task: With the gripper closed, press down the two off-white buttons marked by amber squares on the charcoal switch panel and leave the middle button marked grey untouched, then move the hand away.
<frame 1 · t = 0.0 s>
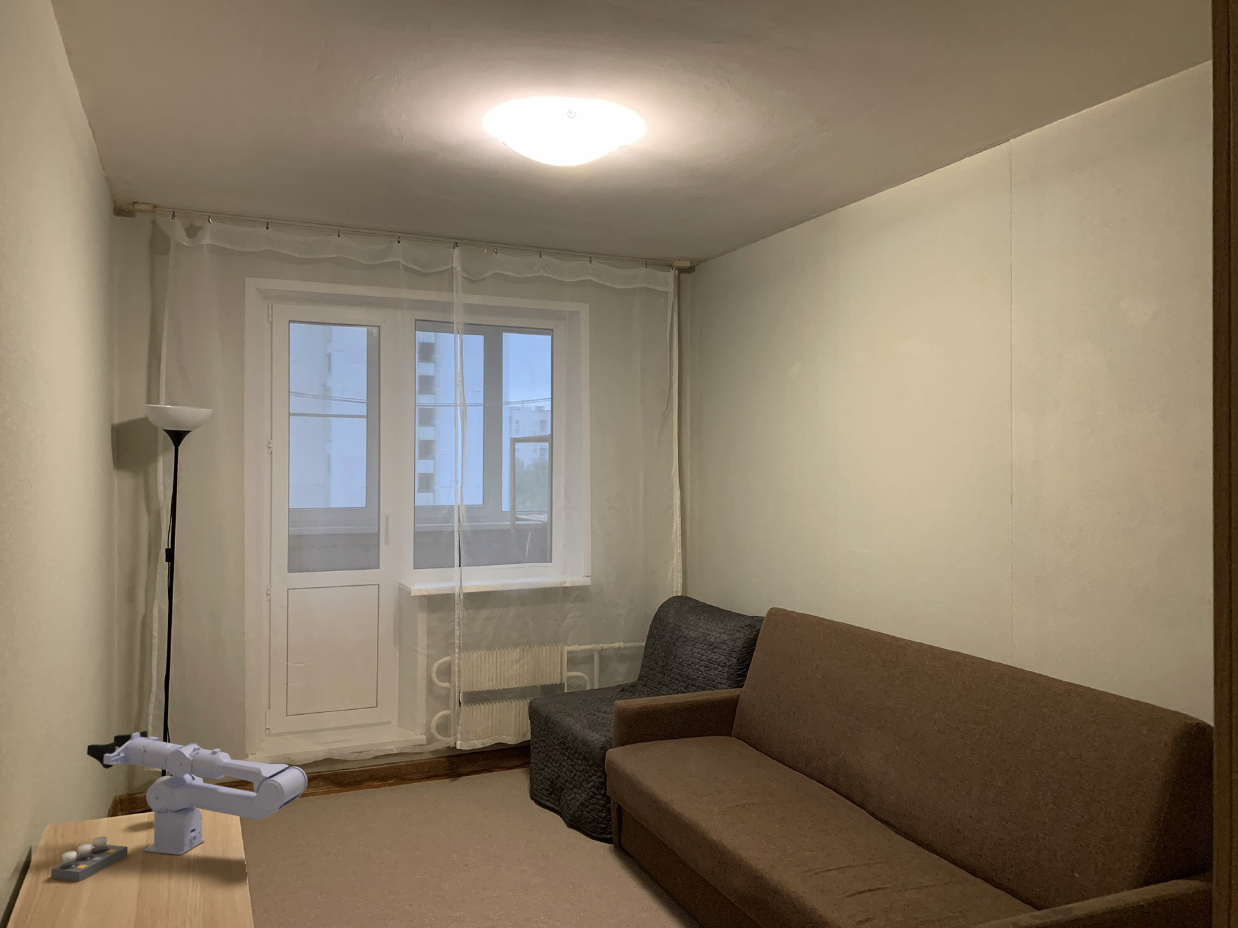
hand: (101, 744, 204), 22 cm above the table, tool horizontal, fingers open, 7 cm apart
button right: (99, 841, 193), point 4 cm above the table, slide at 0.0 cm
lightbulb: (164, 823, 214), on the table
switch panel: (90, 866, 189), on the table
button middle: (84, 849, 189), point 4 cm above the table, slide at 0.0 cm
button left: (69, 856, 185), point 4 cm above the table, slide at 0.0 cm
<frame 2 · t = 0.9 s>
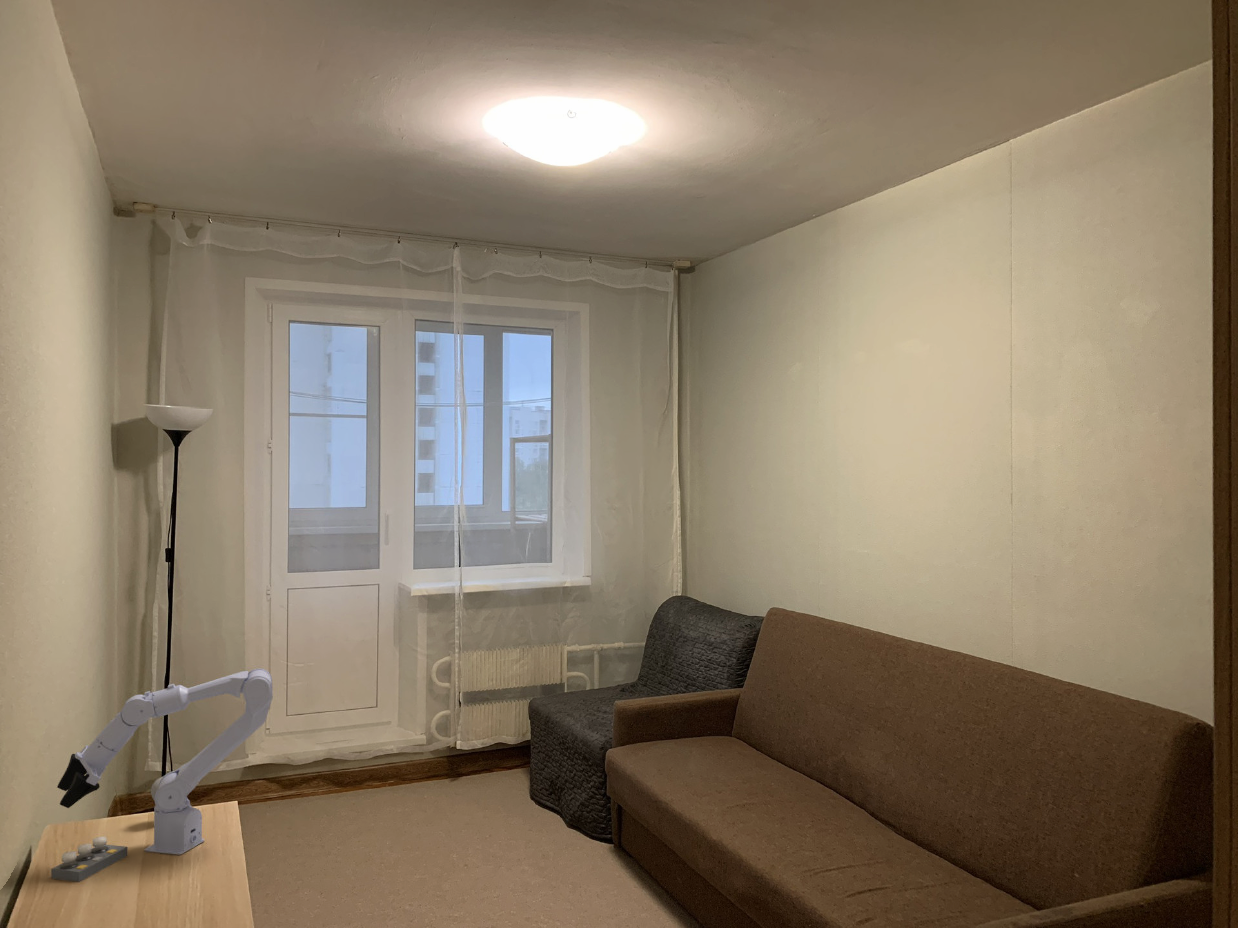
hand: (62, 797, 192), 14 cm above the table, tool tilted 40°, fingers open, 7 cm apart
nothing on the table moved.
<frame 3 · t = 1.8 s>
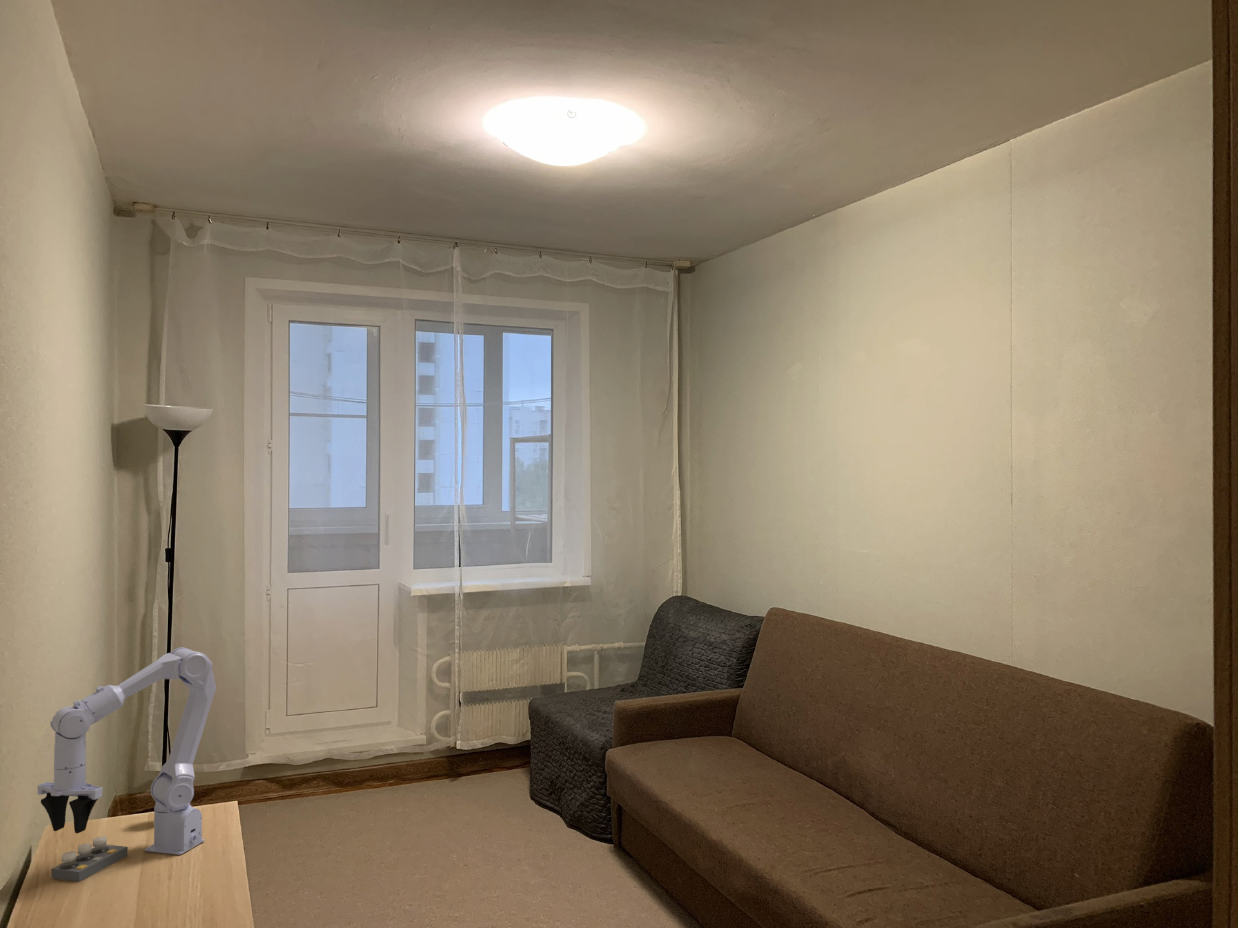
hand: (69, 830, 185), 9 cm above the table, tool pointing down, fingers open, 5 cm apart
nothing on the table moved.
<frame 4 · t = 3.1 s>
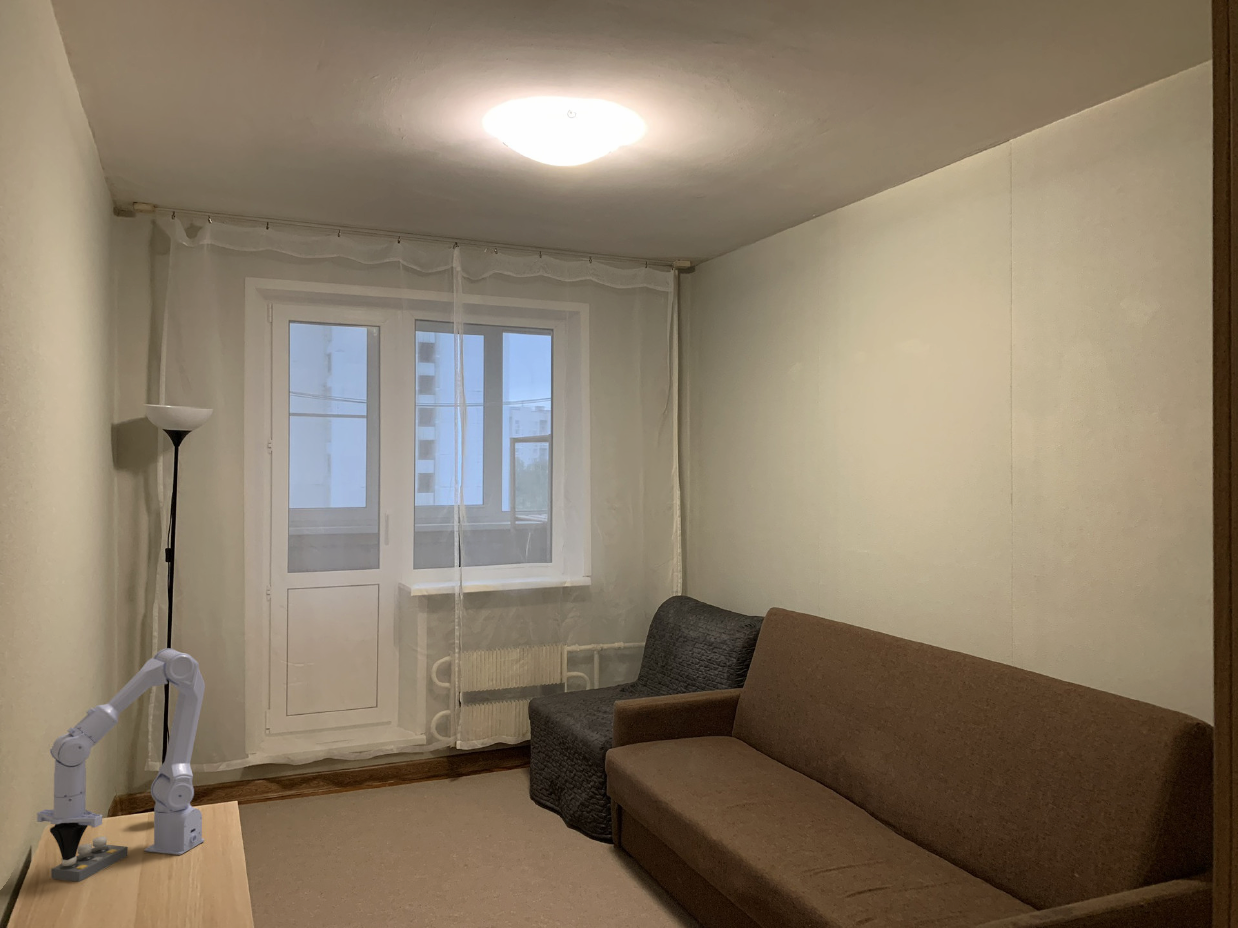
hand: (69, 858, 185), 4 cm above the table, tool pointing down, fingers closed, pressing on button left
button left: (69, 860, 185), point 3 cm above the table, slide at 0.8 cm, touching gripper
everything else where it was.
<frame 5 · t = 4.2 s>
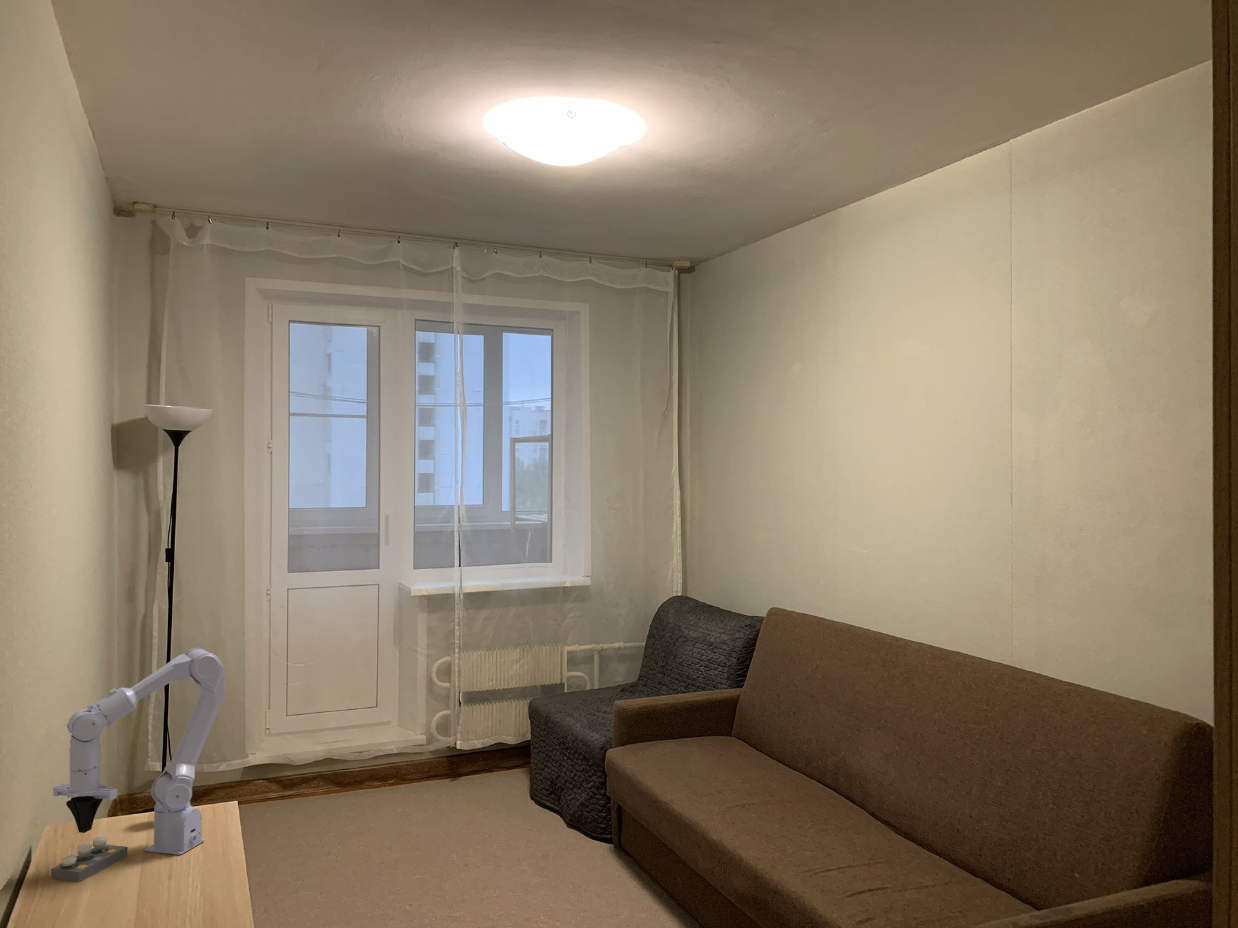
hand: (85, 830, 189), 8 cm above the table, tool pointing down, fingers closed
button left: (69, 860, 185), point 3 cm above the table, slide at 0.8 cm
everything else where it was.
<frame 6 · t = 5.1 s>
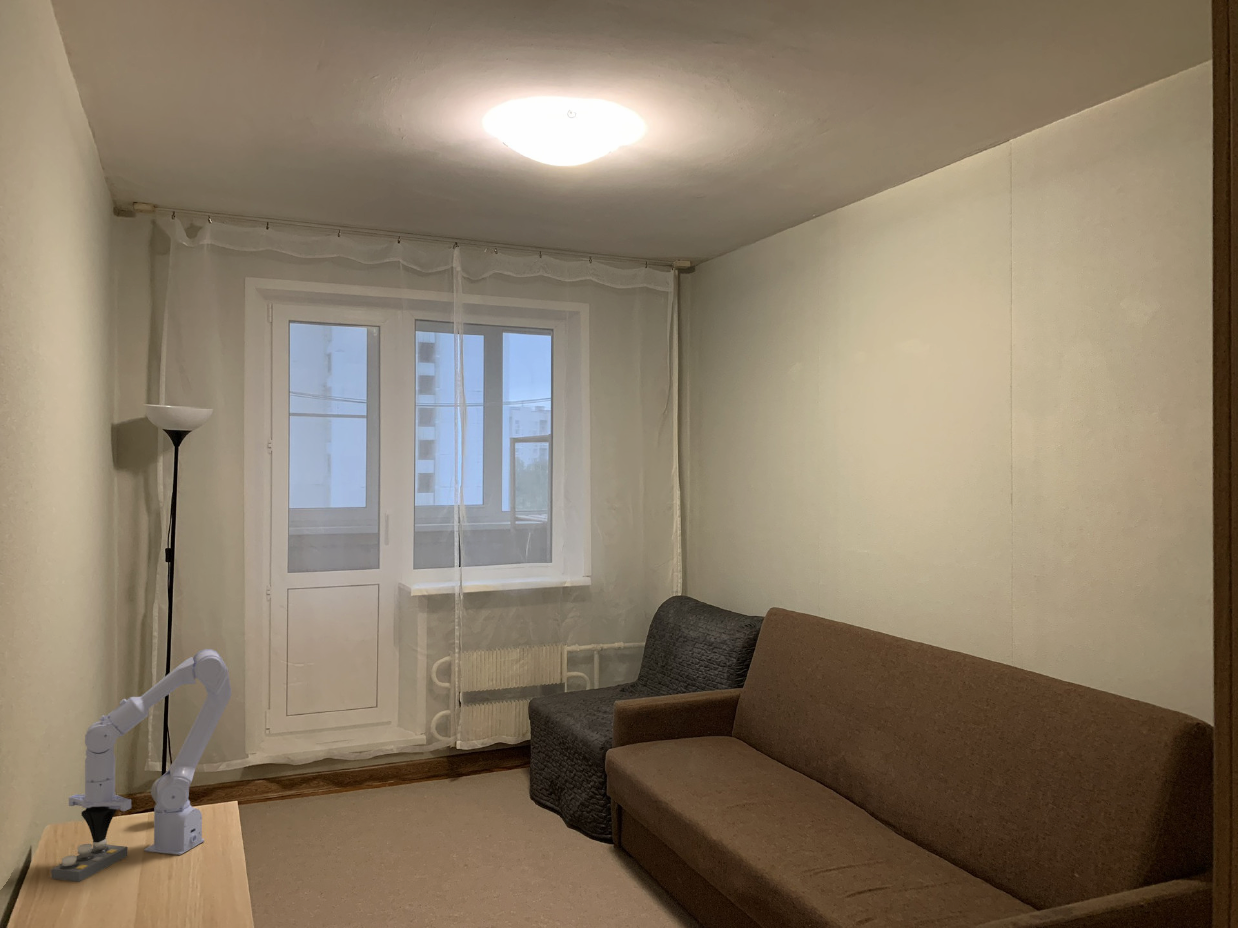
hand: (99, 840, 193), 4 cm above the table, tool pointing down, fingers closed, pressing on button right
button right: (99, 843, 193), point 4 cm above the table, slide at 0.3 cm, touching gripper
everything else where it was.
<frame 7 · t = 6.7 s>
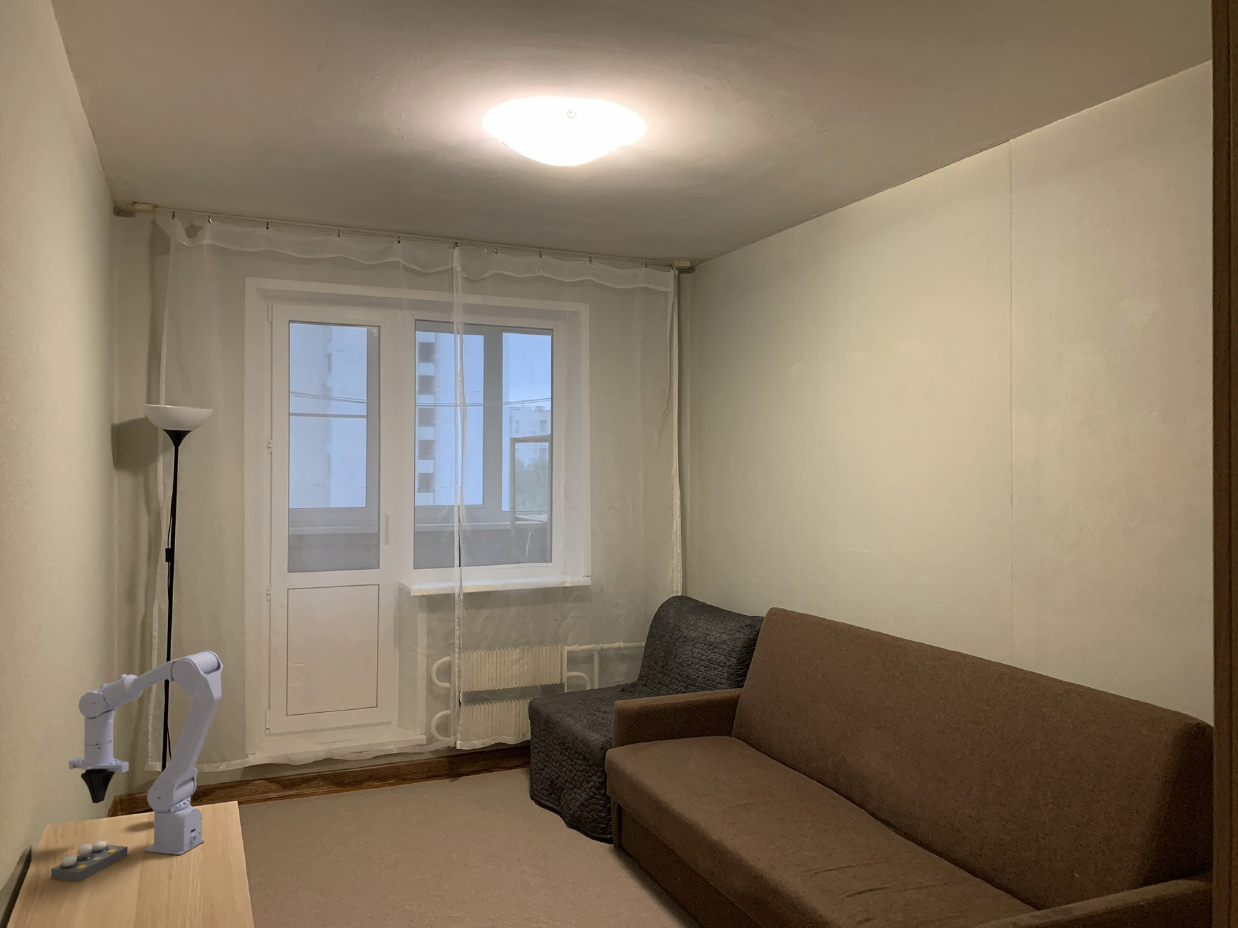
hand: (98, 801, 202), 9 cm above the table, tool pointing down, fingers closed
button right: (99, 845, 193), point 3 cm above the table, slide at 0.8 cm
everything else where it was.
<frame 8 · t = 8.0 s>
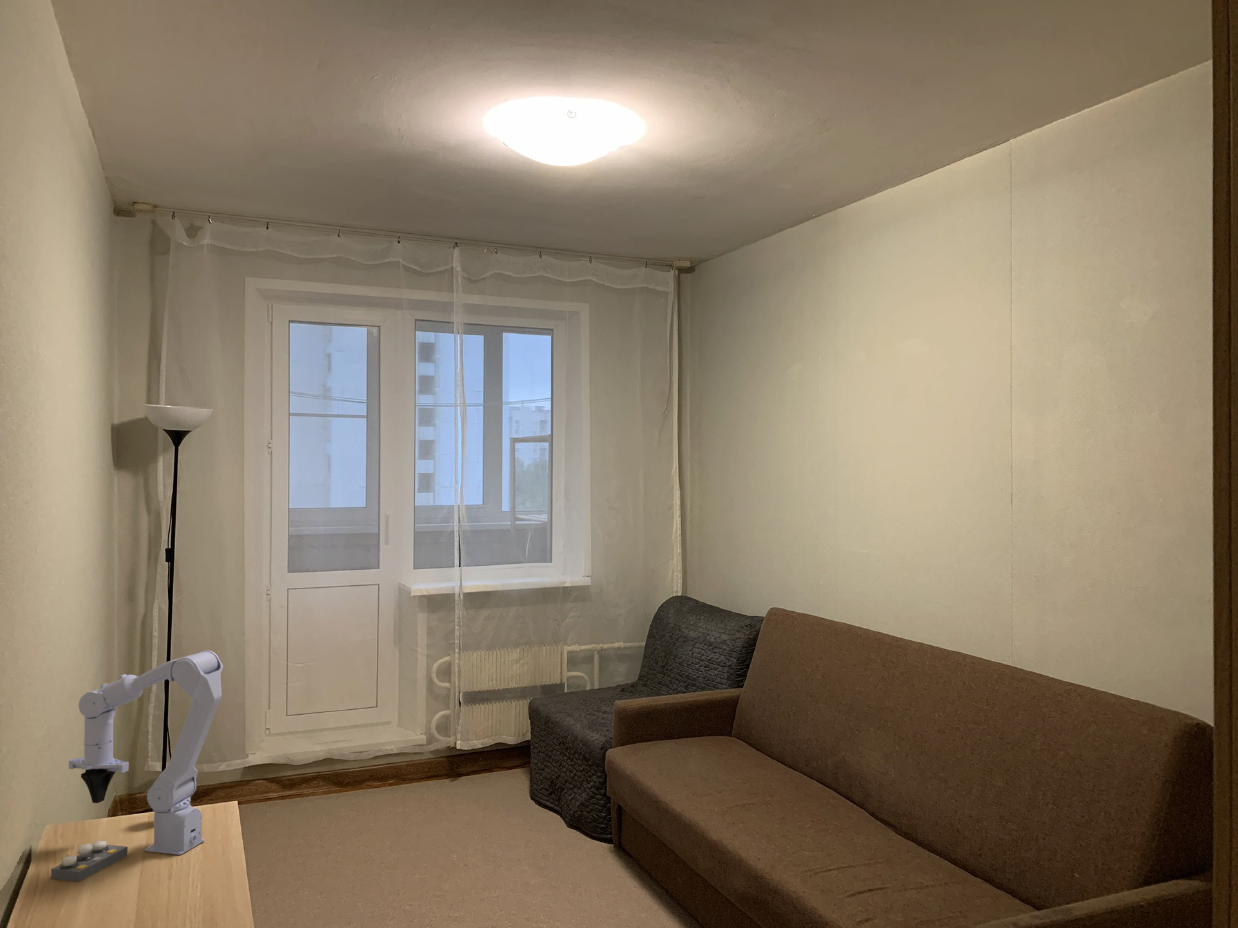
hand: (98, 801, 202), 9 cm above the table, tool pointing down, fingers closed
nothing on the table moved.
at the end: button left slide at 0.8 cm; button right slide at 0.8 cm; button middle slide at 0.0 cm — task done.
